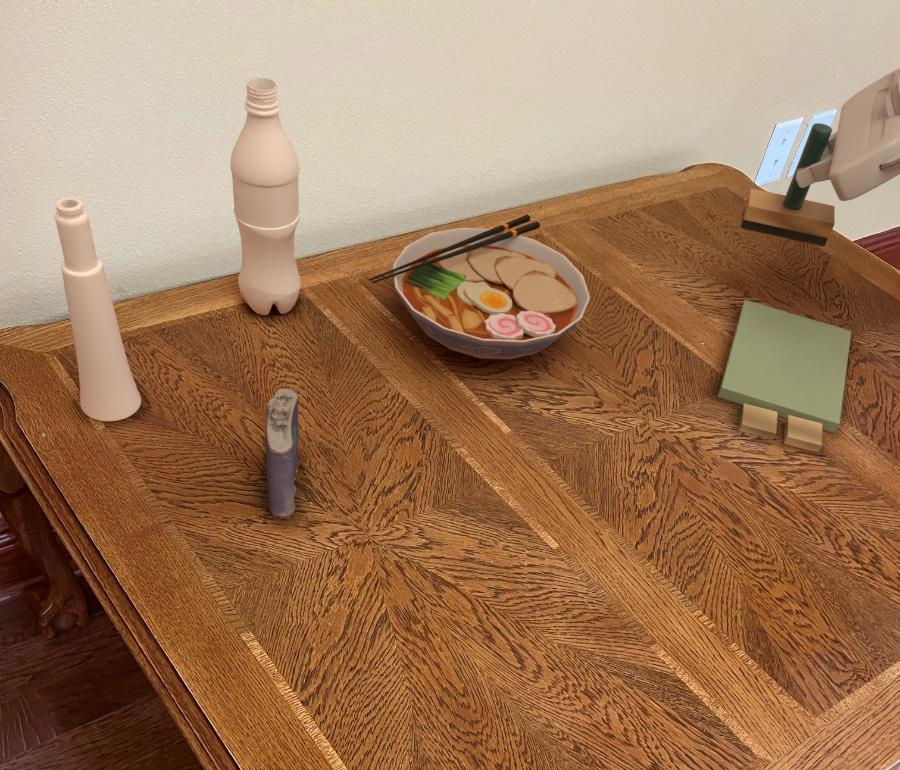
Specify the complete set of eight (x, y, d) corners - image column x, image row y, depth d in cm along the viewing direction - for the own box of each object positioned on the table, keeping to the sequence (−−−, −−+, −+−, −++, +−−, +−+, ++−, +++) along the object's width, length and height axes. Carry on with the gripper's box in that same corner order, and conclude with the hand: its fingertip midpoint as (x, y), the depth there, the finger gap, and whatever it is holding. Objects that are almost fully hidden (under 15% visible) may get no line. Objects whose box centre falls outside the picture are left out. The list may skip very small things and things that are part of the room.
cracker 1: (740, 410, 110) (743, 402, 109) (773, 419, 110) (777, 411, 109) (738, 432, 107) (741, 424, 107) (772, 441, 107) (776, 433, 106)
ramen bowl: (462, 425, 102) (472, 363, 96) (342, 315, 112) (344, 253, 106) (620, 354, 114) (639, 295, 107) (499, 260, 124) (509, 201, 117)
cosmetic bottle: (153, 402, 99) (120, 204, 82) (108, 430, 95) (64, 230, 78) (113, 377, 101) (73, 177, 84) (68, 403, 97) (16, 201, 80)
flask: (294, 521, 91) (292, 437, 82) (263, 520, 90) (258, 435, 82) (300, 456, 96) (299, 371, 88) (271, 454, 96) (267, 369, 88)
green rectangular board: (740, 309, 123) (744, 299, 122) (846, 340, 121) (851, 330, 120) (717, 397, 111) (721, 387, 110) (834, 433, 109) (839, 423, 108)
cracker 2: (784, 422, 109) (788, 414, 108) (818, 431, 109) (822, 423, 108) (783, 444, 107) (787, 436, 106) (818, 453, 106) (822, 445, 105)
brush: (824, 229, 113) (867, 128, 104) (824, 247, 111) (868, 145, 101) (742, 211, 114) (778, 110, 105) (740, 229, 112) (776, 126, 102)
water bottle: (310, 296, 114) (310, 79, 94) (284, 328, 109) (279, 107, 90) (256, 279, 115) (245, 61, 95) (228, 310, 110) (211, 88, 91)
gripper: (938, 176, 94) (802, 239, 102) (939, 97, 106) (818, 160, 115) (915, 119, 91) (777, 189, 100) (919, 45, 103) (797, 113, 112)
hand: (799, 172), depth 107 cm, fingers closed on brush, 2 cm apart
